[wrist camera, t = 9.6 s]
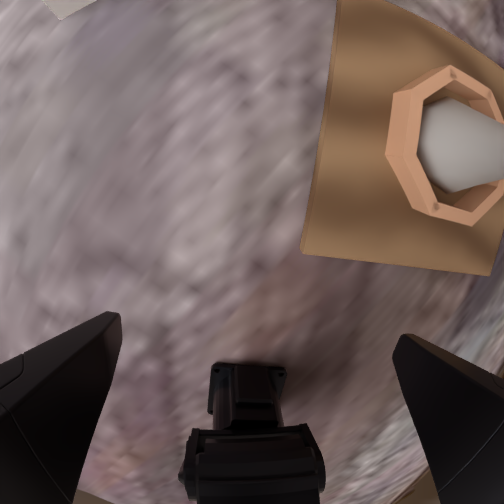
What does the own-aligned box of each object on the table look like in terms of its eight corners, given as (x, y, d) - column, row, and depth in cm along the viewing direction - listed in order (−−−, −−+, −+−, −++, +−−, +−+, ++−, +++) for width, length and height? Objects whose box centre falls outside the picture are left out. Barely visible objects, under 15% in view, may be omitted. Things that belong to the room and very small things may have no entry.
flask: (443, 81, 17) (542, 68, 8) (486, 151, 19) (578, 170, 10) (392, 138, 18) (499, 146, 9) (443, 209, 20) (538, 252, 11)
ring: (476, 225, 21) (494, 233, 19) (375, 200, 20) (392, 207, 17) (494, 105, 18) (513, 105, 15) (396, 53, 16) (414, 46, 14)
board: (482, 271, 24) (489, 276, 23) (299, 248, 22) (303, 253, 21) (512, 83, 18) (520, 83, 17) (337, -9, 15) (343, -15, 14)
